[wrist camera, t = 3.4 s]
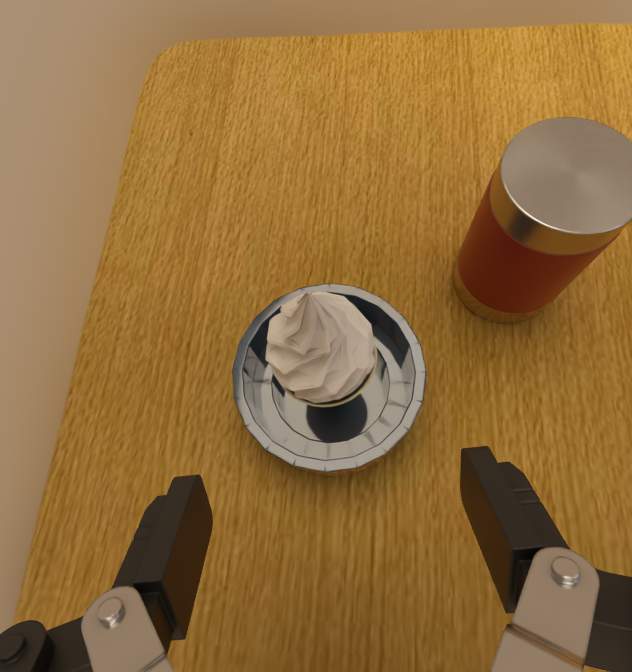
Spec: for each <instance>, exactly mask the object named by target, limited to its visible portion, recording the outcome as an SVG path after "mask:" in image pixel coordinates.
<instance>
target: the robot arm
mask: <svg viewBox="0 0 632 672" xmlns="http://www.w3.org/2000/svg"><path fill="white" fill-rule="evenodd" d="M460 490H461V497H462V502H463V505H464V508H465V511H466V513H467V516H468V519H469V521H470V524H471V526H472V529H473V531H474V534H475V536H476V539H477V541H478V544H479V546H480V549H481V551H482V554H483V556H484V559H485V561H486V564H487V566H488V569H489V571H490V574H491V576H492V579H493V582H494V584H495V587H496V589H497V592H498V594H499V597H500V599H501V602H502V604H503V607H504V609H505V612H506V613H514V616H513V618H512V621H511V623H510V625H509V624H507V626H506V627H505V629H504V632H503V635H502V637H501V640H500V643H499V646H498V649H497V651H496V654H495V657H494V660H493V663H492V666H491V668H490V671H489V672H583V669H584V665H587V666H590V667H594V668H598V669H602V670H606V671H610V672H632V577H627V576H622V575H617V574H612V573H608V572H604V571H601V570H598V569H596V568H594V567H593V566H592V564H591V563H590V562H589V561H588V560H587V559H585V558H584V557H583V556H581V555H580V554H578V553H576V552H574V551H572V550H570V548H569V547H568V546H567V544H566V542H565V541H564V539H563V537H562V536H561V534H560V532H559V531H558V529H557V527H556V526H555V524H554V522H553V521H552V519H551V517H550V516H549V514H548V513H547V511H546V509H545V508H544V506H543V504H542V503H541V502H540V499H539V498H538V496H537V494H536V493H535V491H533V488H532V486H531V484H530V483H529V481H528V479H527V478H526V476H525V475H524V473H523V472H521V471H520V470H519V469H518V468H516V467H515V466H514V465H513V464H511V463H510V462H502V463H497V461H496V459H495V457H494V455H493V453H492V452H491V450H490V448H489V447H488V446H482V447H472V448H463V449H462V450H461V474H460ZM212 524H213V519H212V511H211V507H210V504H209V500H208V497H207V494H206V491H205V487H204V484H203V481H202V478H201V476H200V475H190V476H180V477H175V478H174V479H173V480H172V482H171V485H170V488H169V490H168V493H167V495H164V496H157V498H156V499H155V500H154V501H153V502H152V503H151V504H150V505H149V507H148V508H147V509H146V510H145V512H144V514H143V517H142V519H141V521H140V524H139V528H137V531H136V533H135V535H134V540H133V541H132V542H131V545H130V547H129V549H128V552H127V554H126V556H125V559H124V561H123V563H122V566H121V568H120V570H119V572H118V575H117V577H116V579H115V582H114V584H113V586H112V588H111V589H110V590H108V591H106V592H104V593H103V594H102V595H100V596H99V597H98V598H97V599H95V600H94V601H93V603H92V604H91V605H90V606H89V607H88V609H87V610H86V612H85V614H84V616H82V617H80V618H78V619H75V620H73V621H70V622H68V623H65V624H63V625H60V626H58V627H55V628H52V629H50V630H47V631H46V629H45V627H44V626H43V624H41V623H40V622H38V621H34V620H30V621H24V622H21V623H18V624H16V625H14V626H12V627H10V628H9V629H7V630H6V631H4V632H3V633H1V634H0V672H174V670H173V668H172V665H171V663H170V661H169V659H168V656H167V654H168V650H169V646H170V643H171V640H183V639H185V638H186V634H187V630H188V626H189V622H190V618H191V614H192V610H193V606H194V602H195V597H196V593H197V589H198V585H199V581H200V577H201V573H202V569H203V565H204V561H205V557H206V553H207V549H208V545H209V540H210V536H211V532H212Z"/></svg>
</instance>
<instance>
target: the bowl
mask: <svg viewBox="0 0 632 672" xmlns="http://www.w3.org/2000/svg"><path fill="white" fill-rule="evenodd" d="M316 291H322V292H327V293H331V294H336V295H341V296H344V297H345V298H346V299H347V300H348V301H349V302H351V303H352V304H353V305H354V306H355V307H356V308H357V309H358V310H359V311H360V312H361V314H362V315H363V316H364V317H365V318H366V319H367V320H368V321H369V323H370V324H371V326H372V333H373V337H374V340H375V343H376V348H377V364H376V368H375V372H374V374H373V377H372V379H371V381H370V382H369V384H368V385H367V387H366V388H365V389H364V390H363V391H362V392H361V393H360V394H359V395H358V396H356V397H355V398H353V399H352V400H350V401H348V402H346V403H343V404H340V405H337V406H332V407H315V406H311V405H307V404H304V403H302V402H300V401H298V400H296V399H295V398H293V397H292V396H290V395H289V394H288V393H287V392H286V391H285V390H284V389H283V387H282V386H281V384H280V383H279V381H278V380H277V378H276V377H275V375H274V374H273V372H272V371H271V364H270V363H269V362H268V361H266V360H265V359H266V348H267V344H268V341H267V335H268V329H269V323H270V320H271V319H272V318H273V317H274V316H275V315H277V314H279V313H281V310H280V309H281V307H282V305H284V304H286V303H287V302H289V301H291V300H292V299H294V298H296V297H298V296H299V295H301V294H305V293H306V292H309V293H310V294H312V293H313V292H316ZM232 374H233V390H234V399H235V403H236V405H237V408H238V410H239V413H240V415H241V418H242V420H243V423H244V425H245V427H246V429H247V430H248V431H249V432H250V433H251V434H252V435H253V437H254V438H255V439H256V440H257V441H258V442H259V443H260V445H261V446H262V447H263V448H264V449H265V450H266V451H267V452H269V453H271V454H272V455H274V456H276V457H278V458H279V459H281V460H283V461H285V462H286V463H288V464H290V465H292V466H294V467H296V468H298V469H300V470H302V471H305V472H309V473H315V474H320V475H325V476H338V475H345V474H353V473H357V472H360V471H362V470H364V469H366V468H368V467H370V466H372V465H374V464H376V463H378V462H380V461H381V460H383V459H384V458H385V457H386V456H387V455H388V454H389V453H390V452H391V451H392V450H393V449H394V447H395V446H396V445H397V444H398V443H399V442H400V441H401V440H402V439H403V438H404V437H405V435H406V434H407V433H408V432H409V430H410V429H411V427H412V424H413V422H414V420H415V418H416V416H417V414H418V412H419V410H420V408H421V406H422V402H423V398H424V390H425V381H426V367H425V363H424V358H423V353H422V349H421V344H420V342H419V340H418V339H417V337H416V335H415V334H414V332H413V330H412V328H411V327H410V325H409V323H408V322H407V320H406V319H405V317H404V316H402V315H401V314H400V313H399V312H398V311H397V310H396V309H395V308H393V307H392V306H391V305H390V304H389V303H388V302H387V301H386V300H383V298H381V297H379V296H376V295H374V294H372V293H370V292H368V291H365V290H363V289H361V288H359V287H355V286H347V285H340V284H333V283H330V284H329V283H328V284H321V285H315V286H308V287H302V288H299V289H297V290H295V291H293V292H291V293H288V294H286V295H284V296H282V297H280V298H278V299H276V300H275V301H273V302H272V303H271V304H270V305H269V306H268V307H267V308H265V309H264V310H263V311H262V312H261V313H260V314H259V315H257V316H256V317H255V319H254V320H253V321H252V323H251V325H250V326H249V328H248V329H247V331H246V333H245V334H244V336H243V337H242V339H241V341H240V343H239V346H238V350H237V354H236V358H235V362H234V365H233V371H232Z"/></svg>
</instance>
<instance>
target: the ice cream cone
mask: <svg viewBox="0 0 632 672" xmlns="http://www.w3.org/2000/svg"><path fill="white" fill-rule="evenodd" d="M280 310H281V313H279V314H277V315H275V316H274V317H273V318H272V319H271V320H270V323H269V329H268V335H267V341H268V344H267V348H266V359H265V360H266V361H268V362H269V363H270V364H271V371H272V372H273V374H274V375H275V377H276V378H277V380H278V381H279V383H280V384H281V386H282V387H283V389H284V390H285V391H286V392H287V393H288V394H289V395H290V396H292V397H293V398H295V399H296V400H298V401H300V402H302V403H304V404H307V405H311V406H315V407H332V406H337V405H340V404H343V403H346V402H348V401H350V400H352V399H353V398H355V397H356V396H358V395H359V394H360V393H361V392H362V391H363V390H364V389H365V388H366V387H367V385H368V384H369V382H370V381H371V379H372V377H373V374H374V372H375V368H376V364H377V348H376V343H375V340H374V337H373V333H372V326H371V324H370V323H369V321H368V320H367V319H366V318H365V317H364V316H363V315H362V314H361V312H360V311H359V310H358V309H357V308H356V307H355V306H354V305H353V304H352V303H351V302H349V301H348V300H347V299H346V298H345V297H344V296H341V295H336V294H331V293H327V292H322V291H316V292H313V293H312V294H310V293H309V292H306V293H305V294H301V295H299V296H298V297H296V298H294V299H292V300H291V301H289V302H287V303H286V304H284V305H282V307H281V309H280Z"/></svg>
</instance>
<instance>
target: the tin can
mask: <svg viewBox="0 0 632 672" xmlns="http://www.w3.org/2000/svg"><path fill="white" fill-rule="evenodd" d="M631 221H632V142H631V141H630V140H629V139H628V138H627V137H625V136H624V135H623V134H621V133H620V132H618V131H616V130H615V129H613V128H611V127H609V126H607V125H605V124H602V123H599V122H596V121H593V120H588V119H583V118H576V117H558V118H551V119H547V120H543V121H540V122H537V123H534V124H532V125H530V126H528V127H526V128H525V129H523V130H522V131H520V132H519V133H518V134H517V135H516V136H515V137H514V138H513V139H512V140H511V141H510V142H509V144H508V145H507V147H506V148H505V150H504V152H503V155H502V157H501V159H500V162H499V164H498V166H497V169H496V170H495V172H494V173H493V175H492V177H491V179H490V182H489V184H488V186H487V189H486V191H485V193H484V196H483V198H482V200H481V203H480V205H479V207H478V210H477V212H476V214H475V217H474V219H473V221H472V224H471V226H470V228H469V231H468V233H467V235H466V237H465V240H464V242H463V244H462V247H461V249H460V252H459V256H458V258H457V261H456V263H455V266H454V270H453V283H454V287H455V290H456V292H457V295H458V296H459V298H460V300H461V301H462V302H463V304H464V305H465V306H466V307H467V308H468V309H469V310H471V311H472V312H473V313H475V314H476V315H478V316H480V317H482V318H484V319H486V320H489V321H493V322H497V323H517V322H521V321H525V320H527V319H530V318H531V317H533V316H535V315H536V314H537V313H539V312H540V311H541V310H542V309H543V308H544V307H545V306H546V305H547V304H549V303H550V302H551V301H553V300H554V299H555V298H556V297H557V296H558V295H559V294H560V293H561V292H562V291H563V290H564V289H565V288H566V287H567V286H568V285H569V284H570V283H571V282H572V281H573V280H574V279H575V278H576V277H577V276H578V275H579V274H580V273H581V272H582V271H583V270H584V269H585V268H586V267H587V266H588V265H589V264H590V263H591V262H592V261H593V260H594V259H595V258H596V257H597V256H598V255H599V254H600V253H601V252H602V251H603V250H604V249H605V248H606V247H607V246H608V245H609V244H610V243H611V242H612V241H613V240H614V239H615V238H616V237H617V236H618V235H619V234H620V232H621V231H622V230H623V229H624V228H625V227H626V226H627V225H628V224H629V223H630V222H631Z"/></svg>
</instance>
